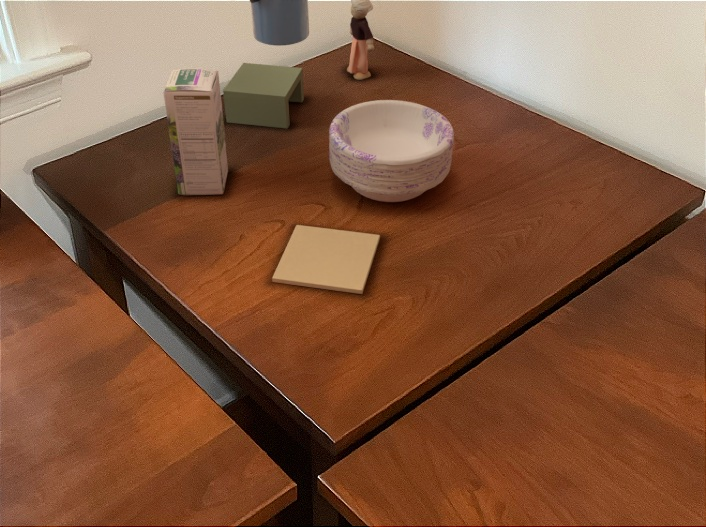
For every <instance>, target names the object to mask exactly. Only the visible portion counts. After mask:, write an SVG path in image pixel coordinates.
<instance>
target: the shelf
mask: <svg viewBox="0 0 706 527" xmlns="http://www.w3.org/2000/svg"><path fill="white" fill-rule="evenodd" d="M303 70H304V68H303V67H296V66H284V65H272V64H261V63H250V62H242V64H241V65H240V66H239V68H238V69H237V71H236V72H235V73H234V75H233V76H232V78H230V80H229V81H228V83H227V85H225V87H224V89H223V90H222V94H223V102H224V110H225V111H224V112H225V119H226V123H229V124H239V125H248V126H249V125H250V126H257V127H267V128H277V129H278V128H279V129H287V130H288V128H289V127H290V125H291V122H290V107H289V106H290V105H289V102H293V103H301V104H302V103H303V101H304V100H305V92H304V73H303V72H304V71H303Z"/></svg>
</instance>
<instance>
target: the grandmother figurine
mask: <svg viewBox="0 0 706 527" xmlns="http://www.w3.org/2000/svg"><path fill="white" fill-rule="evenodd" d="M350 3H351V6H350V14H351V16H352V17H351V18H350V19H351V20H350V23H349V34H350V35H351V36H352V40H351V48H350V55H349V63H348V64H349V65H348V66H347V68H346V71H347V73H349V74H353V78H354V79H355V80H358V81H361V80H362V81H363V80H365V79H368V78H371V76H372V74H371V72H370V70H369V62H368V53H369V52H372V51H374V50H375V46H374V35H373V33H372V30H371V28H370V26H369V21H368V19H367V15H368V13H369V12H371V11H373V9H374V5H373V3H372V2H371V0H350Z"/></svg>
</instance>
